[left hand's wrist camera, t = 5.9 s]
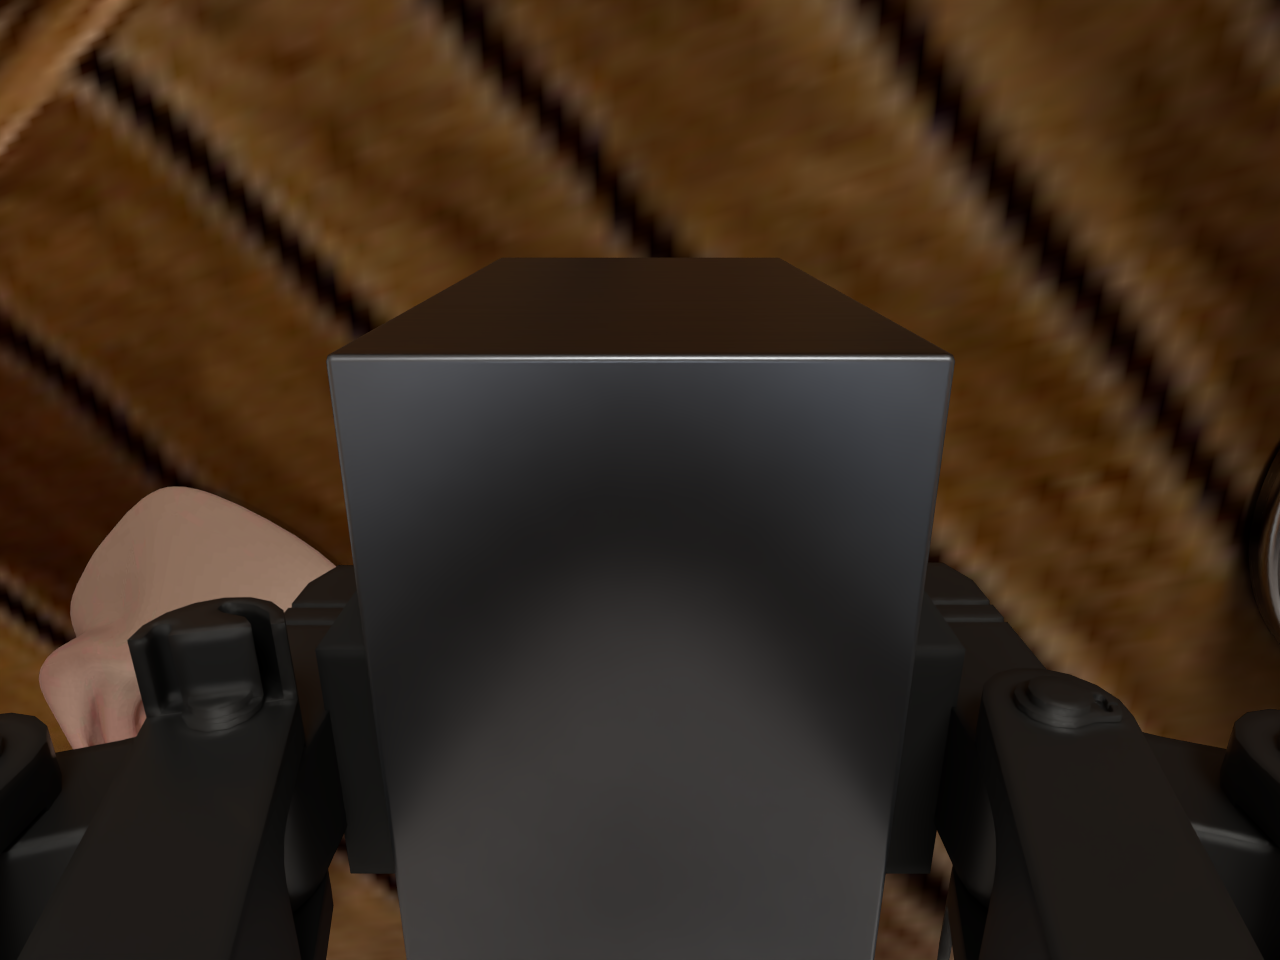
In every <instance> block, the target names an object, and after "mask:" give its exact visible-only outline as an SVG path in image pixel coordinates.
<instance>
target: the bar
mask: <svg viewBox="0 0 1280 960" xmlns="http://www.w3.org/2000/svg"><path fill="white" fill-rule="evenodd" d="M326 363H327V370H328V377H329V385H330V392H331V400H332V407H333V415H334V422H335V429H336V437H337V444H338V452H339V459H340V467H341V474H342V481H343V489H344V496H345V504H346V511H347V519H348V526H349V533H350V541H351V548H352V556H353V563H354V571H355V578H356V585H357V593H358V600H359V608H360V615H361V623H362V630H363V637H364V645H365V652H366V660H367V667H368V675H369V682H370V689H371V697H372V704H373V712H374V719H375V727H376V734H377V742H378V749H379V756H380V764H381V771H382V779H383V786H384V794H385V801H386V808H387V816H388V823H389V831H390V838H391V846H392V853H393V860H394V868H395V875H396V883H397V890H398V898H399V905H400V912H401V920H402V927H403V935H404V942H405V950H406V957H407V960H874V955H875V948H876V940H877V933H878V926H879V918H880V911H881V903H882V896H883V889H884V881H885V874H886V866H887V859H888V852H889V844H890V837H891V829H892V822H893V815H894V807H895V800H896V792H897V785H898V778H899V770H900V763H901V755H902V748H903V741H904V733H905V726H906V718H907V711H908V704H909V696H910V689H911V681H912V674H913V667H914V659H915V652H916V644H917V637H918V630H919V622H920V615H921V607H922V600H923V593H924V585H925V578H926V570H927V563H928V556H929V548H930V541H931V533H932V526H933V519H934V511H935V504H936V496H937V489H938V482H939V474H940V467H941V459H942V452H943V445H944V437H945V430H946V422H947V415H948V408H949V400H950V393H951V385H952V378H953V371H954V363H955V360H954V357H953V355H952V354H950V353H948V352H946V351H945V350H943V349H941V348H939V347H937V346H936V345H934V344H932V343H930V342H929V341H927V340H925V339H923V338H921V337H920V336H918V335H916V334H914V333H912V332H911V331H909V330H907V329H905V328H903V327H902V326H900V325H898V324H896V323H895V322H893V321H891V320H889V319H887V318H886V317H884V316H882V315H880V314H878V313H877V312H875V311H873V310H871V309H870V308H868V307H866V306H864V305H862V304H861V303H859V302H857V301H855V300H853V299H852V298H850V297H848V296H846V295H844V294H843V293H841V292H839V291H837V290H836V289H834V288H832V287H830V286H828V285H827V284H825V283H823V282H821V281H819V280H818V279H816V278H814V277H812V276H810V275H809V274H807V273H805V272H803V271H802V270H800V269H798V268H796V267H794V266H793V265H791V264H789V263H787V262H785V261H784V260H782V259H780V258H501V259H499V260H497V261H495V262H493V263H491V264H490V265H488V266H486V267H484V268H483V269H481V270H479V271H477V272H475V273H474V274H472V275H470V276H468V277H466V278H465V279H463V280H461V281H459V282H458V283H456V284H454V285H452V286H450V287H449V288H447V289H445V290H443V291H442V292H440V293H438V294H436V295H434V296H433V297H431V298H429V299H427V300H426V301H424V302H422V303H420V304H418V305H417V306H415V307H413V308H411V309H409V310H408V311H406V312H404V313H402V314H401V315H399V316H397V317H395V318H393V319H392V320H390V321H388V322H386V323H385V324H383V325H381V326H379V327H377V328H376V329H374V330H372V331H370V332H368V333H367V334H365V335H363V336H361V337H360V338H358V339H356V340H354V341H352V342H351V343H349V344H347V345H345V346H344V347H342V348H340V349H338V350H336V351H335V352H333V353H331V354H329V355H328V357H327V361H326Z"/></svg>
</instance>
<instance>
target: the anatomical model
mask: <svg viewBox="0 0 1280 960" xmlns="http://www.w3.org/2000/svg"><path fill="white" fill-rule="evenodd" d="M335 567H336V566H335V565H334V564H333V563H331V562H330V561H329V560H328V559H327V558H325V557H324V556H323V555H322V554H321V553H319V552H318V551H317V550H315V549H314V548H312V547H311V546H310V545H308V544H307V543H305V542H304V541H302V540H301V539H299V538H298V537H296V536H295V535H293V534H292V533H290V532H288V531H286V530H285V529H283V528H281V527H279V526H278V525H276V524H274V523H273V522H271V521H269V520H267V519H265V518H263V517H261V516H260V515H258V514H256V513H254V512H252V511H250V510H248V509H246V508H244V507H242V506H240V505H238V504H235V503H233V502H231V501H228V500H226V499H224V498H221V497H219V496H217V495H214V494H211V493H208V492H205V491H202V490H198V489H193V488H188V487H175V486H174V487H166V488H162V489H159V490H157V491H154V492H152V493H151V494H149V495H147V496H146V497H144V498H143V499H142V500H140V501H139V502H138V503H137V504H136V505H135V506H134V507H133V508H132V509H131V510H129V511H128V512H127V513H126V514H125V516H124V517H123V518H122V519H121V520H120V522H119V523H118V524H117V525H116V526H115V527H114V529H113V530H112V531H111V532H110V533H109V535H108V536H107V537H106V538H105V539H104V541H103V542H102V543H101V544H100V546H99V547H98V548H97V550H96V551H95V552H94V554H93V556H92V557H91V559H90V561H89V562H88V564H87V566H86V568H85V570H84V572H83V574H82V576H81V578H80V580H79V582H78V584H77V586H76V589H75V591H74V593H73V597H72V600H71V612H70V615H71V620H72V625H73V628H74V631H75V634H76V636H77V638H75V639H73V640H71V641H70V642H68V643H66V644H64V645H63V646H61V647H59V648H58V649H56V650H55V651H54V652H53V653H51V654H50V655H49V657H48V658H47V659H46V660H45V662H44V664H43V665H42V667H41V670H40V673H39V682H40V688H41V690H42V692H43V695H44V697H45V699H46V701H47V703H48V705H49V707H50V709H51V710H52V712H53V714H54V716H55V718H56V719H57V721H58V723H59V725H60V727H61V728H62V730H63V732H64V734H65V736H66V737H67V739H68V741H69V743H70V745H71V746H72V748H73V749H78V748H83V747H88V746H94V745H99V744H104V743H109V742H114V741H120V740H124V739H128V738H132V737H136V736H137V734H138V732H139V731H140V729H141V727H142V725H143V723H144V721H145V719H146V714H145V710H144V706H143V702H142V698H141V694H140V690H139V686H138V682H137V678H136V674H135V670H134V666H133V662H132V658H131V654H130V650H129V646H128V642H127V640H128V639H129V638H130V637H131V636H132V635H133V634H134V633H135V632H136V631H137V630H138V629H139V628H140V627H141V626H142V625H144V624H146V623H148V622H150V621H152V620H154V619H155V618H157V617H159V616H161V615H163V614H165V613H166V612H169V611H172V610H175V609H178V608H181V607H184V606H187V605H190V604H193V603H197V602H202V601H208V600H213V599H219V598H224V597H253V598H258V599H263V600H267V601H272V602H273V603H274V604H276V605H277V606H278V607H280V608H281V609H282V610H284V612H285V611H286V610H287V609H288V608H291V607H292V603H293V601H294V600H295V599H296V598H297V597H298V595H299V594H300V593H301V592H302V590H303V589H304V588H305V587H306V586H307V584H308V583H309V582H311V581H313V580H315V579H316V578H318V577H320V576H321V575H323V574H325V573H326V572H328V571H330V570H331V569H333V568H335Z"/></svg>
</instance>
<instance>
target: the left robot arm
mask: <svg viewBox="0 0 1280 960" xmlns="http://www.w3.org/2000/svg"><path fill="white" fill-rule="evenodd" d="M1249 570H1250V579H1251V585H1252V589H1253V593H1254V597H1255V601H1256V603H1257V606H1258V609H1259V611H1260V614H1261V616H1262V618H1263V620H1264V622H1265V623H1266V625H1267V627H1268V629H1269V631H1270V632H1271V633H1272V635H1273V636H1274V637H1275V639H1276V640H1277V642H1278V643H1279V644H1280V449H1279V451H1278V453H1277V455H1276V457H1275V458H1274V460H1273V462H1272V464H1271V467H1270V469H1269V471H1268V473H1267V476H1266V478H1265V480H1264V482H1263V485H1262V488H1261V491H1260V494H1259V497H1258V500H1257V503H1256V507H1255V511H1254V515H1253V520H1252V524H1251V532H1250V540H1249ZM127 642H128V646H129V650H130V654H131V658H132V662H133V666H134V670H135V674H136V678H137V682H138V686H139V690H140V694H141V698H142V702H143V706H144V710H145V714H146V719H145V721H144V723H143V725H142V727H141V729H140V731H139V732H138V734H137V736H136V737H132V738H128V739H124V740H120V741H114V742H109V743H104V744H99V745H94V746H88V747H83V748H78V749H73V750H68V751H63V752H57V753H55V751H54V747H53V744H52V741H51V738H50V734H49V731H48V728H47V726H46V725H45V724H44V723H43V722H41V721H40V720H39V719H38V718H36V717H35V716H30V715H23V714H16V713H5V714H0V960H326V956H327V948H328V941H329V934H330V927H331V920H332V912H333V899H332V891H331V884H330V878H329V872H328V867H329V865H330V863H331V861H332V859H333V856H334V854H335V852H336V850H337V847H338V845H339V843H340V841H341V839H342V836H343V834H345V841H346V847H347V853H348V859H349V866H350V872H351V873H395V868H394V860H393V853H392V846H391V838H390V831H389V823H388V816H387V808H386V801H385V794H384V786H383V779H382V771H381V764H380V756H379V749H378V742H377V734H376V727H375V719H374V712H373V704H372V697H371V689H370V682H369V675H368V667H367V660H366V652H365V645H364V637H363V630H362V623H361V615H360V608H359V600H358V593H357V585H356V578H355V571H354V565H338V566H336V567H335V568H333V569H331V570H330V571H328V572H326V573H325V574H323V575H321V576H320V577H318V578H316V579H315V580H313V581H311V582H309V583H308V584H307V586H306V587H305V588H304V589H303V590H302V592H301V593H300V594H299V595H298V597H297V598H296V599H295V600H294V601H293V603H292V607H291V608H288V609H287V610H286V611H285V612H284V610H282V609H281V608H280V607H278V606H277V605H276V604H274V603H273V602H272V601H267V600H263V599H258V598H253V597H224V598H219V599H213V600H208V601H202V602H197V603H193V604H190V605H187V606H184V607H181V608H178V609H175V610H172V611H169V612H166V613H165V614H163V615H161V616H159V617H157V618H155V619H154V620H152V621H150V622H148V623H146V624H144V625H142V626H141V627H140V628H139V629H138V630H137V631H136V632H135V633H134V634H133V635H132V636H131V637H130V638H129V639H128V640H127ZM937 831H938V833H939V835H940V837H941V840H942V842H943V844H944V846H945V848H946V851H947V853H948V855H949V857H950V859H951V862H952V864H953V866H952V872H951V878H950V884H949V890H948V896H947V902H946V907H945V913H944V919H943V925H942V931H941V937H940V942H939V950H938V958H937V960H949V958H950V953H951V947H953V954H954V960H1280V710H1275V709H1267V710H1260V711H1253V712H1247V713H1246V714H1245V715H1243V716H1242V717H1241V718H1239V719H1238V720H1237V721H1236V722H1235V723H1234V727H1233V730H1232V733H1231V737H1230V740H1229V743H1228V747H1227V749H1222V748H1217V747H1212V746H1207V745H1202V744H1196V743H1191V742H1186V741H1181V740H1176V739H1170V738H1165V737H1160V736H1156V735H1152V734H1148V733H1144V732H1142V731H1141V729H1140V727H1139V725H1138V723H1137V722H1136V720H1135V718H1134V716H1133V715H1132V714H1131V713H1130V712H1129V710H1128V709H1127V708H1126V707H1125V706H1124V705H1123V703H1122V702H1121V701H1120V700H1119V699H1117V698H1116V697H1114V696H1113V695H1111V694H1109V693H1108V692H1106V691H1105V690H1103V689H1102V688H1100V687H1099V686H1097V685H1095V684H1092V683H1090V682H1087V681H1085V680H1082V679H1080V678H1077V677H1075V676H1072V675H1070V674H1065V673H1060V672H1056V671H1051V670H1046V668H1045V667H1044V666H1043V665H1042V663H1041V662H1040V661H1039V660H1038V659H1037V657H1036V656H1035V655H1034V654H1033V653H1032V651H1031V650H1030V649H1029V648H1028V647H1027V645H1026V644H1025V643H1024V642H1023V641H1022V639H1021V638H1020V637H1019V636H1018V635H1017V633H1016V632H1015V631H1014V630H1013V629H1012V627H1011V626H1010V625H1009V624H1008V622H1004V618H1003V616H1002V615H1001V614H1000V613H999V612H998V610H997V609H996V608H995V607H994V606H993V605H990V604H989V600H988V598H987V597H986V596H985V595H984V594H983V592H982V591H981V590H980V589H979V588H978V586H977V585H976V584H975V583H974V581H973V580H971V579H970V578H968V577H966V576H964V575H963V574H961V573H959V572H958V571H956V570H954V569H953V568H951V567H949V566H947V565H946V564H944V563H927V570H926V578H925V585H924V593H923V600H922V607H921V615H920V622H919V630H918V637H917V644H916V652H915V659H914V667H913V674H912V681H911V689H910V696H909V704H908V711H907V718H906V726H905V733H904V741H903V748H902V755H901V763H900V770H899V778H898V785H897V792H896V800H895V807H894V815H893V822H892V829H891V837H890V844H889V852H888V859H887V866H886V873H930V869H931V863H932V857H933V850H934V844H935V838H936V832H937Z"/></svg>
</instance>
